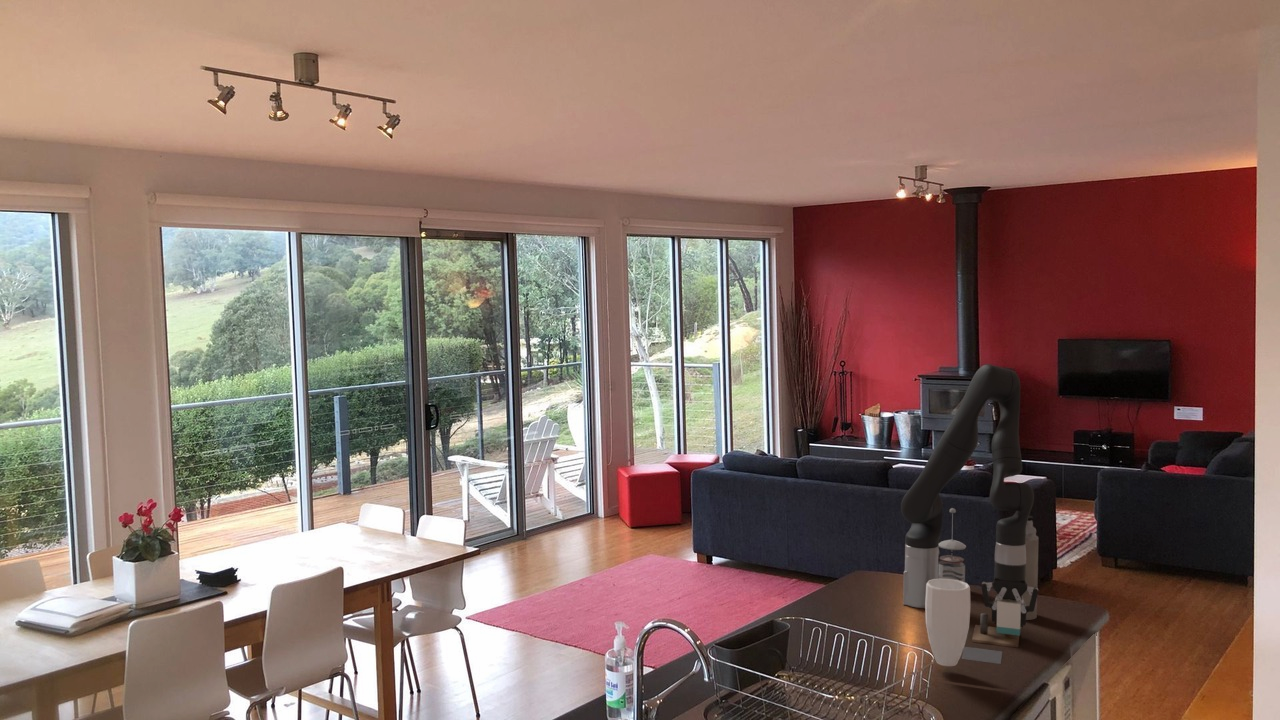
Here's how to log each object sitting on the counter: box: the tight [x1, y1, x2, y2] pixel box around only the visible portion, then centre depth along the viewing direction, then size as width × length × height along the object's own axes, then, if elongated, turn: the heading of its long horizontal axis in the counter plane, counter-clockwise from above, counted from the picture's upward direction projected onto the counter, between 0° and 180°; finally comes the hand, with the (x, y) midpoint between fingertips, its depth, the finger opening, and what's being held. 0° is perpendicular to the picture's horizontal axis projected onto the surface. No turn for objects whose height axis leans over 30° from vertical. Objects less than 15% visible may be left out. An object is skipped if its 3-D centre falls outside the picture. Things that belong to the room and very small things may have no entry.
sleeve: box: [996, 599, 1022, 636], centre depth 252 cm, size 6×6×8 cm
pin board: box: [971, 612, 1020, 648], centre depth 254 cm, size 11×12×6 cm
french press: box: [938, 507, 967, 583], centre depth 296 cm, size 10×12×25 cm
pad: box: [960, 646, 1003, 665], centre depth 241 cm, size 9×9×1 cm
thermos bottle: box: [1022, 514, 1039, 621], centre depth 272 cm, size 8×8×28 cm
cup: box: [924, 579, 971, 667], centre depth 229 cm, size 10×10×22 cm
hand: (1008, 624), depth 253 cm, fingers closed on sleeve, 5 cm apart
